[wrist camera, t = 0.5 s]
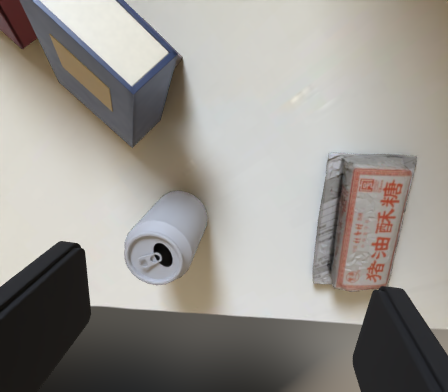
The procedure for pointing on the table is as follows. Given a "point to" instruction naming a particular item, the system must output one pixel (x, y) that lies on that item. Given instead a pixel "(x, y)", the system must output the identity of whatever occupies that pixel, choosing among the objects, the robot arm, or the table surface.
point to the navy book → (106, 60)
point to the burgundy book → (16, 23)
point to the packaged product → (361, 219)
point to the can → (166, 238)
